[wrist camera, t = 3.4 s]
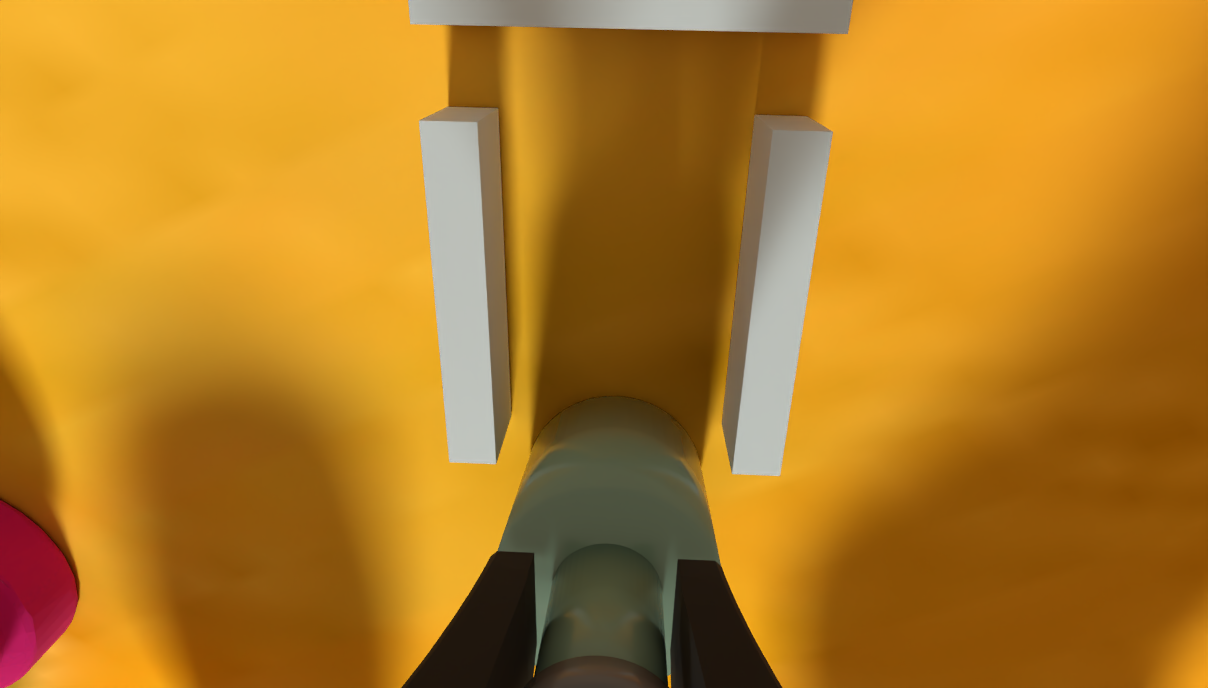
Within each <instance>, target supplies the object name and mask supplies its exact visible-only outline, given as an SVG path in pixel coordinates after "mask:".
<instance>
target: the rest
mask: <svg viewBox="0 0 1208 688" xmlns="http://www.w3.org/2000/svg"><path fill="white" fill-rule="evenodd" d="M408 3H409V14H410V24H430V25H475V26H519V27H564V28H608V29H653V30H697V31H742V32H786V33H831V34H848V30H849V23H850V17H851V10H852V4H853V0H408ZM419 126H420V137H421V148H422V159H423V171H424V182H425V193H426V204H427V216H428V227H429V238H430V249H431V260H432V272H433V283H434V294H435V305H436V316H437V328H438V339H439V350H440V361H441V372H442V384H443V395H444V406H445V417H446V429H447V440H448V451H449V462H459V463H483V464H496V463H497V460H498V456H499V453H500V450H501V447H502V444H503V441H504V437H505V434H506V431H507V428H508V425H509V421H510V418H511V394H510V371H509V347H508V324H507V300H506V277H505V253H504V230H503V206H502V183H501V159H500V136H499V112H498V108H477V107H446V108H444V109H442V110H440V111H438V112H436V113H434V114H432V115H430V116H428V117H426V118H423V119H421V120H419ZM832 134H833V132H832V131H831V130H829V129H827V128H826V127H824V126H822V125H821V124H819V123H817V122H816V121H814V120H812V119H811V118H809V117H807V116H784V115H755V117H754V127H753V136H752V145H751V155H750V164H749V173H748V183H747V192H746V201H745V211H744V220H743V229H742V239H741V248H740V258H739V267H738V276H737V286H736V295H735V304H734V314H733V323H732V332H731V342H730V351H729V361H728V370H727V379H726V389H725V398H724V407H723V417H722V427H723V432H724V437H725V442H726V447H727V452H728V456H729V461H730V466H731V471H732V474H746V475H770V476H780V472H781V465H782V459H783V452H784V446H785V439H786V433H787V426H788V420H789V413H790V407H791V400H792V394H793V387H794V381H795V374H796V368H797V361H798V355H799V348H800V342H801V335H802V329H803V322H804V316H805V309H806V303H807V296H808V290H809V283H810V277H811V270H812V264H813V257H814V251H815V244H816V238H817V231H818V225H819V218H820V212H821V205H822V199H823V192H824V186H825V179H826V173H827V166H828V160H829V153H830V147H831V140H832Z"/></svg>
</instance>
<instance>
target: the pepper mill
mask: <svg viewBox="0 0 1208 688" xmlns="http://www.w3.org/2000/svg"><path fill="white" fill-rule="evenodd" d="M77 602H78V596H77V590H76V583H75V577H74V575H73V573H72V571H71V569H70V566H69V564H68V562H67V561H66V559H65V557H64V555H63V553H62V552H61V551H60V550H59V548H58V547H57V546H56V545H55V543H54V542H53V541H52V540H51V539H50V538H49V537H48V536H47V535H46V533H45V532H44V531H43V530H42V529H41V528H40V527H39V526H37V525H36V524H35V523H34V522H32V521H31V520H30V519H29V518H28V517H26V516H25V515H24V514H23V513H21V512H20V511H18V510H17V509H15V508H13V507H12V506H10V505H8V504H7V503H5V502H3V501H1V500H0V688H4V687H7V686H10V685H11V684H13V683H14V682H16V681H17V680H19V679H20V678H22V677H23V676H24V675H25V674H26V673H27V672H28V671H29V670H30V669H31V667H32V666H33V665H34V664H35V663H36V662H37V661H38V660H39V659H40V658H41V657H42V656H43V654H44V653H45V652H46V651H47V650H48V649H49V648H50V647H51V646H52V645H53V644H54V643H55V642H56V640H57V639H58V638H59V637H60V636H61V635H62V634H63V633H64V632H65V631H66V629H67V628H68V626H69V625H70V623H71V622H72V620H73V617H74V614H75V611H76V607H77Z"/></svg>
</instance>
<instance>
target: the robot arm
mask: <svg viewBox="0 0 1208 688" xmlns="http://www.w3.org/2000/svg"><path fill="white" fill-rule="evenodd" d="M536 648H537V626H536V595H535V563H534V553H529V552H507V551H497V552H496V553H494V554H493V555H492V556H491V557H490V559H489V561H488V562H487V564H486V566H485V568H484V570H483V571H482V573H481V575H480V577H479V578H478V580H477V582H476V583H475V585H474V587H473V588H472V590H471V591H470V593H469V595H468V596H467V598H466V599H465V601H464V602H463V604H462V605H461V607H460V609H459V610H458V612H457V613H456V615H455V616H454V618H453V619H452V620H451V622H450V623H449V625H448V626H447V628H446V629H445V630H444V632H443V633H442V635H441V636H440V637H439V639H438V640H437V642H436V643H435V645H434V646H433V647H432V649H431V650H430V652H429V653H428V654H427V656H426V657H425V658H424V660H423V661H422V662H421V664H420V665H419V666H418V667H417V669H416V670H415V671H414V673H413V674H412V675H411V676H410V678H409V679H408V680H407V681H406V683H405V684H404V685H403V686H402V688H524V687H525V685H526V684H527V683H528V682H529V681H530V680H531V679H532V678H533V673H534V665H535V656H536ZM670 659H671V688H782V686H781V685H780V683H779V681H778V680H777V678H776V676H775V674H774V673H773V671H772V669H771V667H770V666H769V664H768V662H767V660H766V659H765V657H764V655H763V653H762V652H761V650H760V648H759V646H758V644H757V643H756V641H755V639H754V637H753V635H752V633H751V631H750V629H749V627H748V625H747V623H746V621H745V619H744V617H743V615H742V613H741V611H740V609H739V607H738V605H737V603H736V601H735V599H734V596H733V594H732V592H731V590H730V587H729V585H728V582H727V580H726V578H725V575H724V572H723V570H722V567H721V566H720V565H719V564H718V563H717V562H716V561H712V560H689V559H678V561H677V574H676V586H675V598H674V610H673V623H672V635H671V647H670Z"/></svg>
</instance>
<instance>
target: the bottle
mask: <svg viewBox="0 0 1208 688" xmlns="http://www.w3.org/2000/svg"><path fill="white" fill-rule="evenodd" d="M498 551H507V552H529V553H534V563H535V595H536V626H537V648H536V656H535V665H536V670H535V675H534V677H533V678H532V679H531V680H530V681H529V682H528V683H527V684H526V685H525V687H524V688H669V687H668V678H667V676H668V675H670V674H671V659H670V647H671V635H672V623H673V610H674V598H675V586H676V574H677V561H678V559H689V560H712V561H716V562H717V563H718V564H719V565H720V566H721V564H720V559H719V554H718V549H717V544H716V539H715V534H714V529H713V524H712V520H711V515H710V510H709V505H708V500H707V495H706V490H705V485H704V480H703V475H702V470H701V465H700V460H699V457H698V454H697V450H696V448H695V446H694V444H693V442H692V440H691V438H690V437H689V435H688V434H687V432H686V431H685V430H684V429H683V427H682V426H681V425H680V424H679V423H678V422H677V421H676V420H675V419H674V418H673V417H671V416H670V415H669V414H667V413H666V412H664V411H663V410H662V409H660V408H658V407H656V406H654V405H652V404H649V403H647V402H644V401H641V400H638V399H633V398H629V397H620V396H605V397H598V398H592V399H589V400H585V401H582V402H579V403H577V404H575V405H572V406H570V407H569V408H567V409H565V410H563V411H562V412H561V413H559V414H558V415H557V416H555V417H554V418H553V419H552V420H551V421H550V422H549V423H548V424H547V425H546V426H545V427H544V429H543V430H542V431H541V433H540V434H539V436H538V438H537V440H536V441H535V443H534V446H533V448H532V451H531V454H530V457H529V460H528V463H527V465H526V468H525V471H524V474H523V477H522V480H521V483H520V486H519V489H518V492H517V495H516V498H515V501H514V504H513V507H512V510H511V513H510V516H509V519H508V522H507V525H506V527H505V530H504V533H503V536H502V539H501V542H500V545H499V548H498Z"/></svg>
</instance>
